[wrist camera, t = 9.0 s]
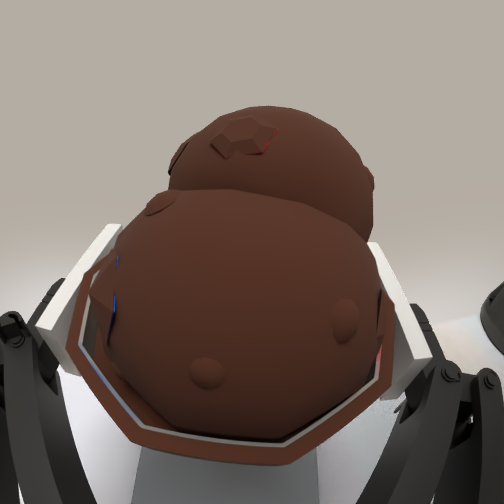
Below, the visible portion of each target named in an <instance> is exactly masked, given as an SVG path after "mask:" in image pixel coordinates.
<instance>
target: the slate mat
mask: <svg viewBox="0 0 504 504" xmlns="http://www.w3.org/2000/svg"><path fill="white" fill-rule="evenodd" d="M131 504H319V493H318V474H317V457H316V448H314V449H313V450H311V451H310V452H308V453H307V454H305V455H304V456H302V457H301V458H299V459H298V460H296V461H294V462H293V463H291V464H288V465H282V466H256V465H242V464H231V463H222V462H214V461H207V460H201V459H194V458H189V457H183V456H178V455H173V454H168V453H164V452H159V451H155V450H151V449H148V448H146V447H143V446H142V450H141V454H140V459H139V464H138V469H137V474H136V480H135V485H134V491H133V496H132V502H131Z"/></svg>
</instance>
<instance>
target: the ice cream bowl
mask: <svg viewBox="0 0 504 504" xmlns="http://www.w3.org/2000/svg"><path fill="white" fill-rule="evenodd" d="M168 173H169V175H170V181H169V187H168V190H167V191H164V192H161V193H158V194H157V195H156V196H155V197H154V198H153V199H151V200H150V201H149V203H147V205H146V208H145V209H144V210H143V211H142V212H141V213H140V214H139V215H138V216H137V217H136V218H135V219H134V220H133V221H132V222H131V223H130V224H129V225H128V226H127V227H126V228H125V229H124V230H123V231H122V232H121V233H120V234H119V235H118V237H117V239H116V242H115V245H114V248H113V249H111V250H110V252H109V254H108V255H106V256H105V257H104V258H102V259H101V260H100V261H99V262H97V263H96V264H95V265H94V266H92V267H91V268H90V269H89V270H88V271H86V272H85V273H84V275H83V278H82V282H81V285H80V289H79V292H78V296H77V300H76V303H75V307H74V311H73V315H72V319H71V323H70V328H69V332H68V337H67V342H66V347H65V349H66V351H67V353H68V354H69V356H70V358H71V359H72V361H73V363H74V364H75V366H76V368H77V369H78V371H79V372H80V374H81V376H82V377H83V379H84V380H85V382H86V383H87V385H88V386H89V388H90V389H91V391H92V392H93V393H94V395H95V396H96V398H97V399H98V401H99V402H100V403H101V405H102V406H103V407H104V409H105V410H106V411H107V413H108V414H109V415H110V417H111V418H112V419H113V421H114V422H115V423H116V424H117V426H118V427H119V428H120V429H121V431H122V432H123V433H124V434H125V435H126V437H127V438H128V439H129V440H130V441H131V442H133V443H135V444H138V445H140V446H143V447H146V448H148V449H151V450H155V451H159V452H164V453H168V454H173V455H178V456H183V457H189V458H194V459H201V460H207V461H214V462H222V463H231V464H242V465H256V466H282V465H288V464H291V463H293V462H294V461H296V460H298V459H299V458H301V457H302V456H304V455H305V454H307V453H308V452H310V451H311V450H313V449H314V448H316V447H317V446H319V445H320V444H321V443H323V442H324V441H326V440H327V439H328V438H330V437H331V436H332V435H334V434H335V433H336V432H338V431H339V430H340V429H342V428H343V427H344V426H346V425H347V424H348V423H349V422H351V421H352V420H353V419H354V418H356V417H357V416H358V415H359V414H361V413H362V412H363V411H364V410H365V409H366V408H368V407H369V406H370V405H371V404H372V403H373V402H375V401H376V400H377V399H378V398H379V397H380V396H381V395H382V394H383V393H385V392H386V391H387V390H388V389H389V388H390V387H391V385H392V373H393V358H394V335H395V304H394V302H393V301H392V300H391V299H390V297H389V296H388V295H387V294H386V292H385V291H384V290H383V289H382V287H381V282H380V277H379V272H378V267H377V263H376V259H375V257H374V255H373V253H372V251H371V250H370V248H369V246H368V244H367V242H368V239H369V236H370V234H371V231H372V228H373V190H374V177H373V175H372V174H371V173H370V171H369V170H368V168H367V167H365V166H364V165H363V163H362V161H361V158H360V156H359V154H358V153H357V152H356V150H355V149H354V148H353V147H352V146H351V145H350V143H349V142H348V141H347V140H346V139H345V138H344V137H343V136H342V135H341V133H340V132H339V131H338V130H337V129H336V128H334V127H332V126H331V125H329V124H327V123H325V122H324V121H322V120H320V119H318V118H316V117H314V116H312V115H310V114H308V113H306V112H302V111H299V110H295V109H292V108H284V107H275V106H258V107H249V108H245V109H242V110H239V111H235V112H232V113H229V114H226V115H223V116H220V117H219V118H217V119H216V120H215V121H213V122H212V123H211V124H210V125H208V126H207V127H206V128H204V129H203V130H202V131H200V132H198V133H196V134H194V135H193V136H191V137H190V138H189V139H187V140H186V141H185V142H184V143H182V144H181V146H180V147H179V149H178V150H177V152H176V153H175V155H174V156H173V158H172V159H171V163H170V166H169V170H168Z"/></svg>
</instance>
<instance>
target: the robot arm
mask: <svg viewBox="0 0 504 504" xmlns="http://www.w3.org/2000/svg"><path fill="white" fill-rule="evenodd" d="M122 231H123V228H122V225H121V224H108V225H107V226H106V227H105V228H104V230H103V231H102V232H101V233H100V234H99V236H98V237H97V238H96V239H95V241H94V242H93V243H92V244H91V246H90V247H89V248H88V249H87V251H86V252H85V253H84V255H83V256H82V257H81V259H80V260H79V261H78V263H77V264H76V266H75V267H74V268H73V270H72V271H71V272H70V274H69V275H68V276H67V278H66V279H65V278H61V279H59V280H58V281H57V282H56V283H54V284H53V285H52V286H51V288H50V289H49V291H48V292H47V294H46V296H45V297H44V298H43V299H42V302H41V303H40V304H39V305H38V307H37V308H36V310H35V312H34V313H33V315H32V316H31V318H30V319H29V321H28V323H27V324H25V322H24V320H23V318H22V317H21V315H20V314H19V313H18V312H16V311H9V312H7V313H5V314H3V315H2V316H1V317H0V504H20V499H19V489H18V483H19V487H20V490H21V494H22V497H23V501H24V504H97V502H96V500H95V498H94V495H93V493H92V491H91V488H90V486H89V483H88V480H87V478H86V475H85V472H84V470H83V467H82V464H81V461H80V458H79V455H78V452H77V448H76V445H75V442H74V438H73V435H72V431H71V427H70V424H69V420H68V415H67V411H66V407H65V402H64V397H63V392H62V387H61V381H60V376H59V373H58V371H57V368H58V366H59V364H60V365H61V367H62V368H63V369H64V371H65V372H67V373H70V374H73V375H77V376H80V377H81V374H80V372H79V371H78V369H77V368H76V366H75V364H74V363H73V361H72V359H71V358H70V356H69V354H68V353H67V351H66V349H65V347H66V342H67V337H68V332H69V328H70V323H71V319H72V315H73V311H74V307H75V303H76V300H77V296H78V292H79V289H80V285H81V282H82V278H83V275H84V273H85V272H86V271H88V270H89V269H90V268H91V267H92V266H94V265H95V264H96V263H97V262H99V261H100V260H101V259H102V258H104V257H105V256H106V255H108V254H109V252H110V250H111V249H113V248H114V245H115V242H116V239H117V237H118V235H119V234H120V233H121V232H122ZM367 244H368V246H369V248H370V250H371V251H372V253H373V255H374V257H375V259H376V263H377V267H378V272H379V277H380V282H381V287H382V289H383V290H384V291H385V292H386V294H387V295H388V296H389V297H390V299H391V300H392V301H393V302H394V304H395V335H394V358H393V373H392V385H391V387H390V388H389V389H388V390H387V391H386V392H385V393H383V394H382V395H381V396H380V401H384V400H391V399H397V398H398V397H399V396H400V395H401V394H402V393H403V392H404V391H405V395H406V399H405V400H404V401H403V402H402V403H401V404H400V405H399V406H398V407H397V408H396V409H395V411H394V412H393V413H395V414H396V413H397V412H398V411H399V410H400V411H399V414H398V417H397V419H396V422H395V424H394V427H393V429H392V432H391V434H390V437H389V439H388V441H387V443H386V446H385V448H384V450H383V452H382V455H381V457H380V459H379V461H378V463H377V465H376V467H375V469H374V471H373V473H372V475H371V477H370V479H369V481H368V483H367V485H366V486H365V488H364V490H363V492H362V494H361V495H360V497H359V499H358V501H357V502H356V504H430V503H431V501H432V498H433V496H434V501H433V504H504V402H503V394H502V387H501V382H500V379H499V377H498V375H497V374H496V372H494V371H493V370H492V369H490V368H483V369H482V370H480V371H479V372H478V373H477V374H476V375H471V374H466V373H462V372H461V370H460V368H459V367H458V366H457V365H456V364H455V363H453V362H452V361H449V360H446V358H445V356H444V354H443V351H442V349H441V347H440V345H439V342H438V340H437V338H436V336H435V334H434V332H433V331H432V330H433V329H432V327H431V325H430V324H429V321H428V319H427V317H426V315H425V313H424V311H423V310H422V309H421V308H420V307H419V306H418V305H417V304H409V302H408V300H407V299H406V296H405V294H404V292H403V290H402V288H401V286H400V284H399V282H398V280H397V278H396V277H395V275H394V273H393V271H392V269H391V267H390V265H389V263H388V262H387V260H386V258H385V256H384V254H383V252H382V251H381V249H380V247H379V246H378V244H377V243H373V242H367ZM481 320H482V323H483V326H484V329H485V331H486V333H487V334H488V336H489V338H490V339H491V341H492V342H493V343H494V345H495V346H496V347H497V348H498V349H499V350H500V351H501V352H502V353H503V354H504V282H503V283H501V284H500V285H499V286H498V287H497V288H496V289H495V290H494V291H493V292H491V293H490V294H489V296H488V297H487V299H486V300H485V302H484V303H483V305H482V307H481ZM472 416H473V423H471V417H472ZM434 493H435V495H434Z"/></svg>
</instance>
